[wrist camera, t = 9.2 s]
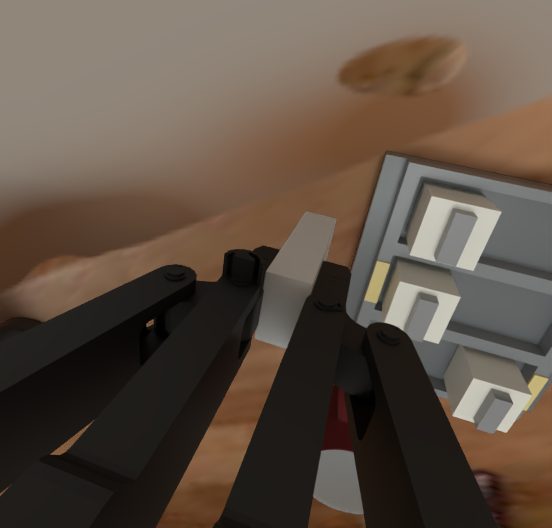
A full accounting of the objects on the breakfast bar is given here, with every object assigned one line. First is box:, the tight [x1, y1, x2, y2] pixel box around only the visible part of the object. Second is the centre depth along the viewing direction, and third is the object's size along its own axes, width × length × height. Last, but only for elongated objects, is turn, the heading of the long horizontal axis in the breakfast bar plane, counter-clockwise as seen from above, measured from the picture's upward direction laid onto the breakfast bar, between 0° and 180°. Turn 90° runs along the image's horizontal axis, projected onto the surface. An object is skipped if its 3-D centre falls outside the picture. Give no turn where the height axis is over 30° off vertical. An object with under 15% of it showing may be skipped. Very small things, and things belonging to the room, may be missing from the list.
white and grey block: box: [405, 181, 501, 271], centre depth 24 cm, size 4×4×6 cm
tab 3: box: [443, 344, 532, 434], centre depth 28 cm, size 4×4×6 cm
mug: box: [313, 385, 364, 515], centre depth 33 cm, size 11×8×10 cm
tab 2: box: [382, 256, 461, 344], centre depth 26 cm, size 4×4×6 cm
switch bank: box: [346, 151, 552, 421], centre depth 28 cm, size 18×18×4 cm
